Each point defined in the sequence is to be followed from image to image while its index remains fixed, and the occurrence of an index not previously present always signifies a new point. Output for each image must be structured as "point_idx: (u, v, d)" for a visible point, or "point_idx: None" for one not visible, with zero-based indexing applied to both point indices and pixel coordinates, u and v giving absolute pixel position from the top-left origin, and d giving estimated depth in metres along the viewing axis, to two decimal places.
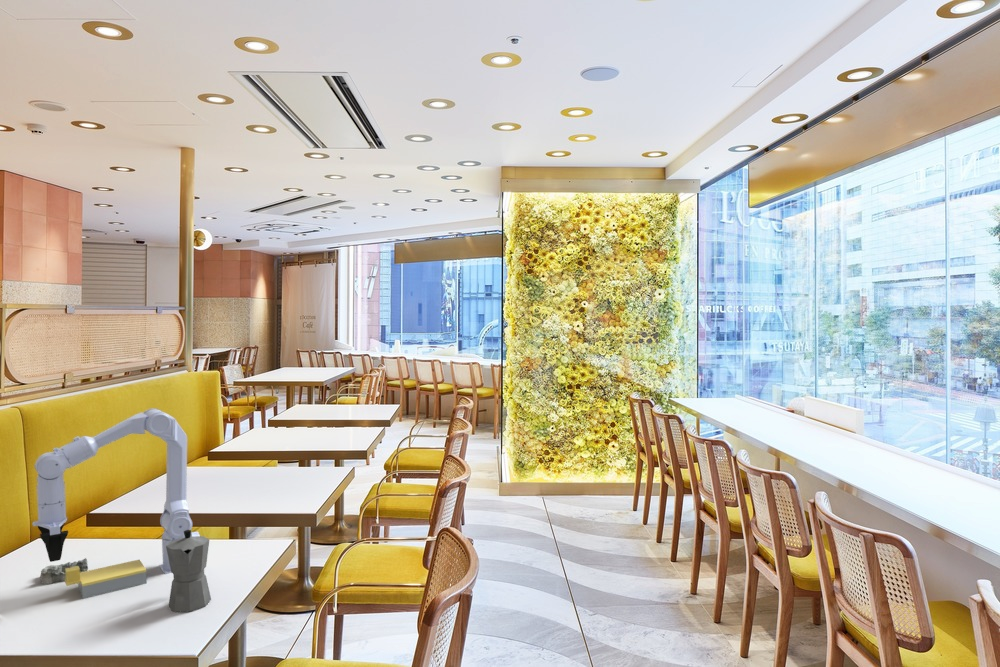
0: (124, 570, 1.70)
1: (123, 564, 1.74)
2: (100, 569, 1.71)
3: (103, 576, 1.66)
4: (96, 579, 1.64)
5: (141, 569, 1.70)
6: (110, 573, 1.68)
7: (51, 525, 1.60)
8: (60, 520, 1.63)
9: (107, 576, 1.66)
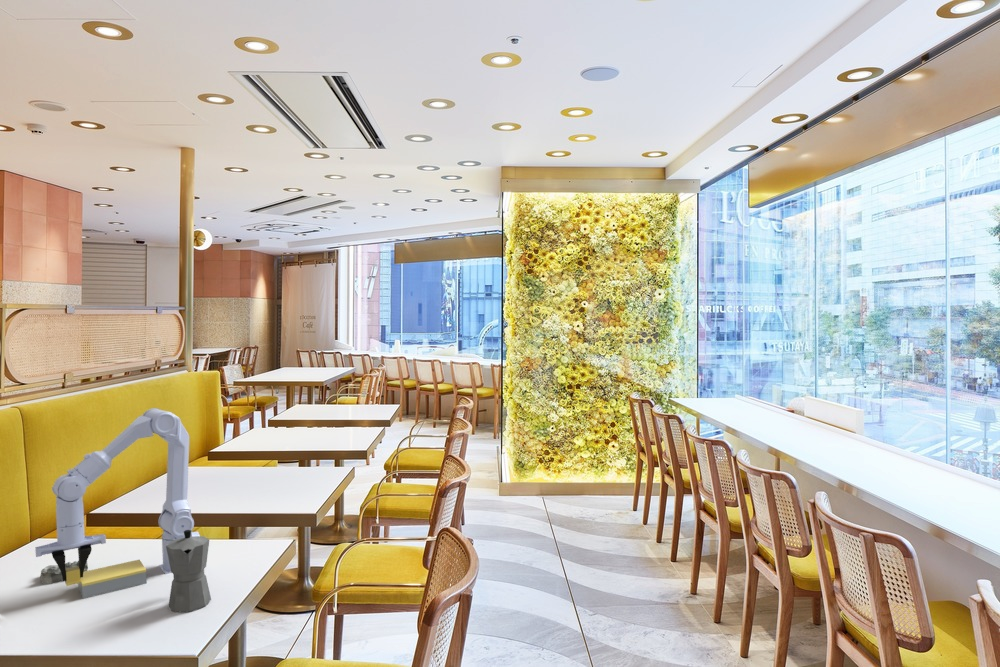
0: (124, 570, 1.70)
1: (123, 564, 1.74)
2: (100, 569, 1.71)
3: (103, 576, 1.66)
4: (96, 579, 1.64)
5: (141, 569, 1.70)
6: (110, 573, 1.68)
7: (47, 546, 1.61)
8: (59, 545, 1.61)
9: (107, 576, 1.66)
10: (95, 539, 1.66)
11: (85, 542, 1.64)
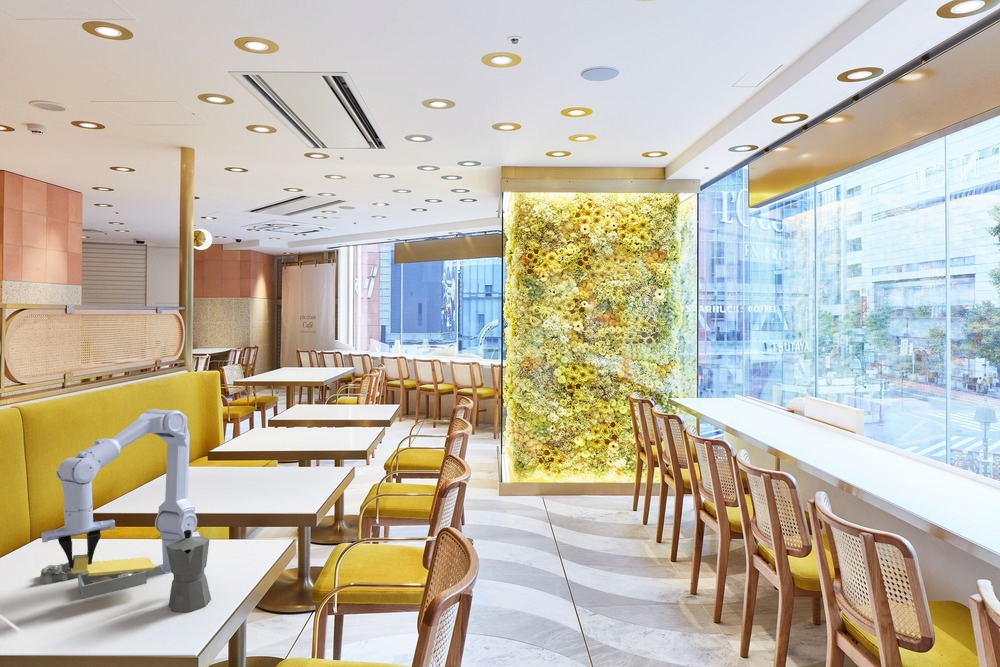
0: (132, 565, 1.62)
1: (132, 559, 1.67)
2: (107, 561, 1.63)
3: (111, 568, 1.59)
4: (103, 570, 1.57)
5: (150, 566, 1.63)
6: (118, 566, 1.61)
7: None
8: (66, 530, 1.54)
9: (115, 569, 1.59)
10: (104, 525, 1.59)
11: (93, 528, 1.57)
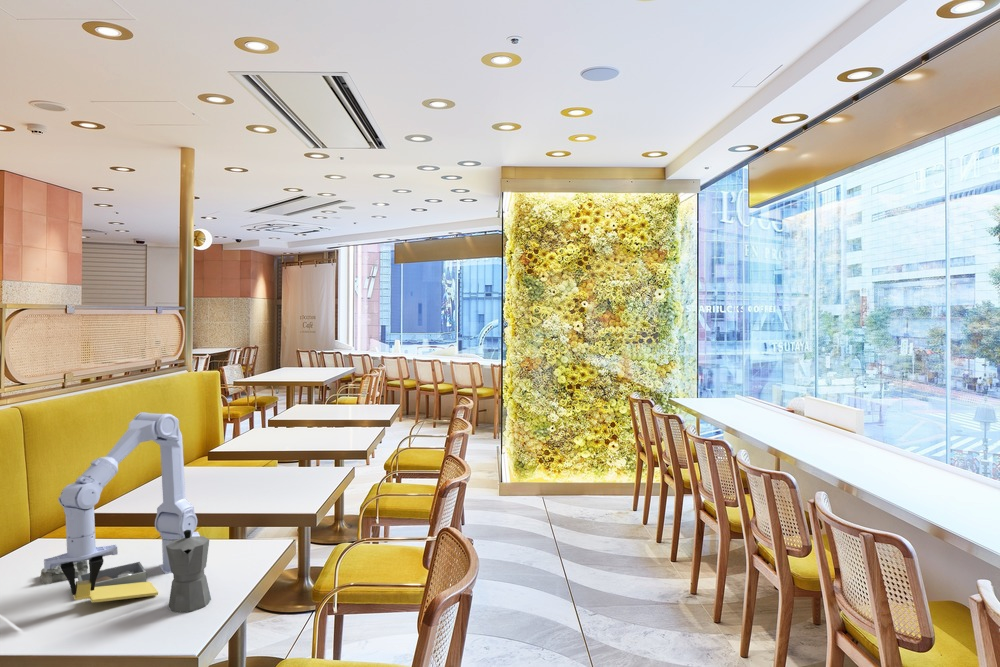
0: (135, 590, 1.62)
1: (134, 584, 1.66)
2: (109, 587, 1.63)
3: (113, 594, 1.58)
4: (106, 596, 1.56)
5: (153, 591, 1.62)
6: (120, 592, 1.60)
7: (57, 558, 1.53)
8: (69, 557, 1.53)
9: (117, 595, 1.58)
10: (107, 550, 1.58)
11: (96, 553, 1.56)
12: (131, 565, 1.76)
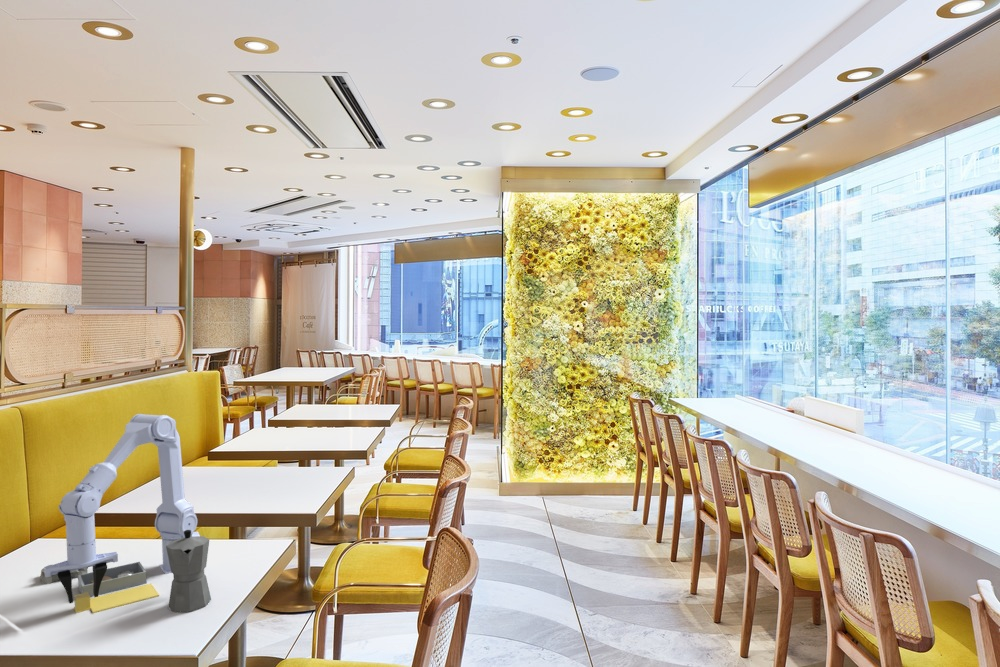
0: (136, 596, 1.62)
1: (135, 589, 1.66)
2: (110, 595, 1.63)
3: (114, 603, 1.58)
4: (107, 606, 1.57)
5: (154, 594, 1.63)
6: (121, 599, 1.60)
7: None
8: (69, 564, 1.53)
9: (118, 603, 1.58)
10: (107, 557, 1.58)
11: (96, 561, 1.56)
12: (131, 565, 1.76)
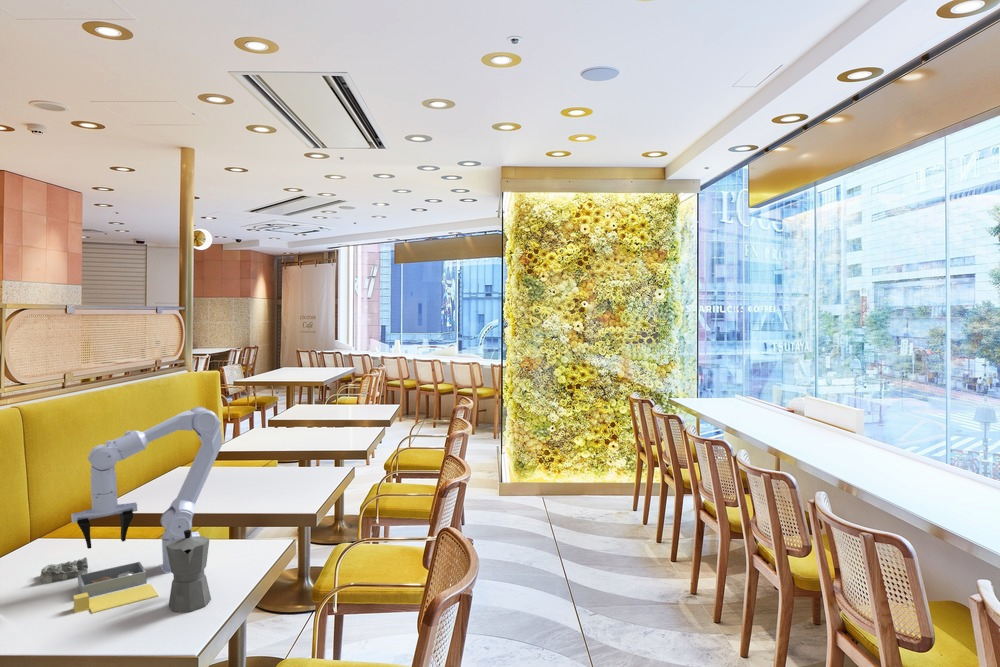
0: (135, 596, 1.62)
1: (134, 589, 1.66)
2: (109, 595, 1.63)
3: (113, 603, 1.58)
4: (106, 606, 1.56)
5: (153, 595, 1.62)
6: (120, 599, 1.60)
7: (83, 513, 1.69)
8: (94, 511, 1.69)
9: (117, 603, 1.58)
10: (128, 507, 1.74)
11: (118, 509, 1.72)
12: (131, 565, 1.76)
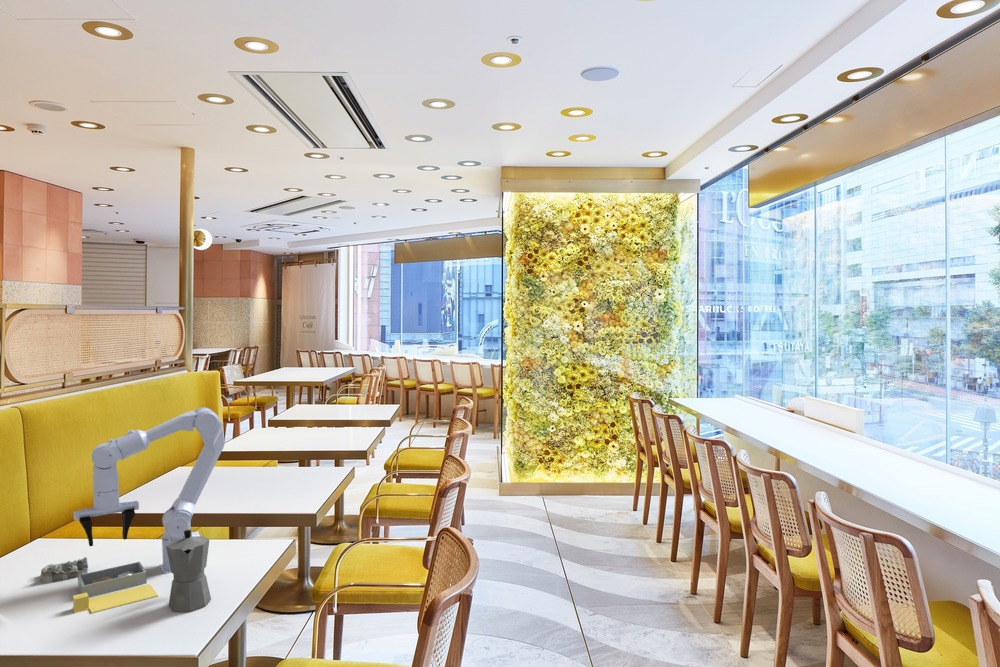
0: (135, 596, 1.62)
1: (134, 589, 1.66)
2: (109, 595, 1.63)
3: (113, 603, 1.58)
4: (106, 607, 1.56)
5: (152, 595, 1.62)
6: (120, 600, 1.60)
7: (85, 510, 1.70)
8: (96, 509, 1.70)
9: (117, 603, 1.58)
10: (129, 505, 1.75)
11: (120, 507, 1.73)
12: (131, 565, 1.76)
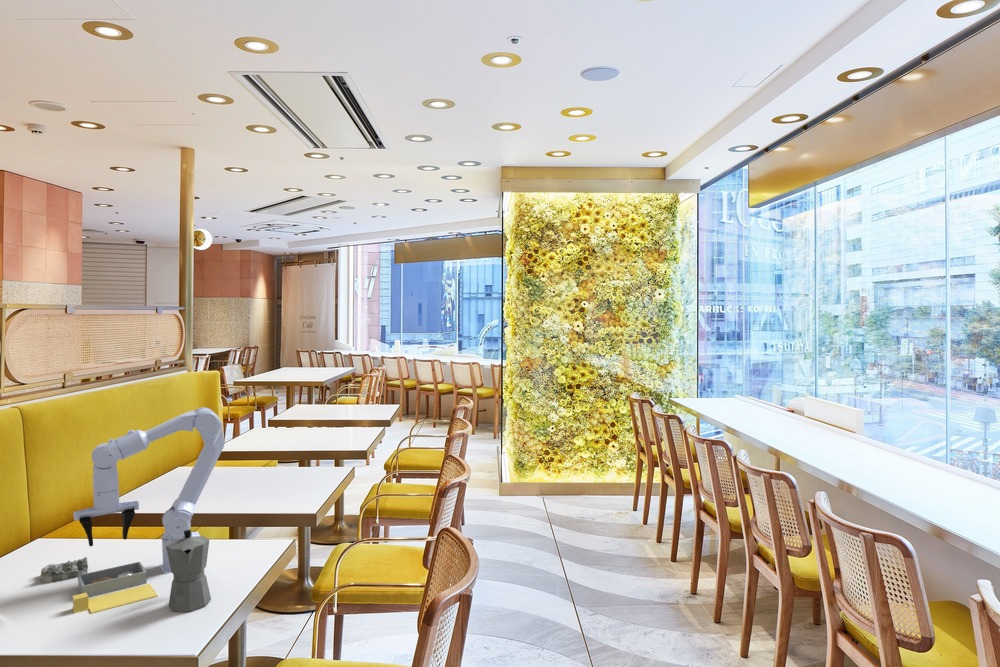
0: (134, 596, 1.62)
1: (133, 589, 1.66)
2: (108, 595, 1.63)
3: (113, 603, 1.58)
4: (105, 607, 1.56)
5: (152, 595, 1.62)
6: (120, 600, 1.60)
7: (85, 510, 1.70)
8: (96, 509, 1.70)
9: (117, 603, 1.58)
10: (129, 505, 1.75)
11: (120, 507, 1.73)
12: (131, 565, 1.76)
